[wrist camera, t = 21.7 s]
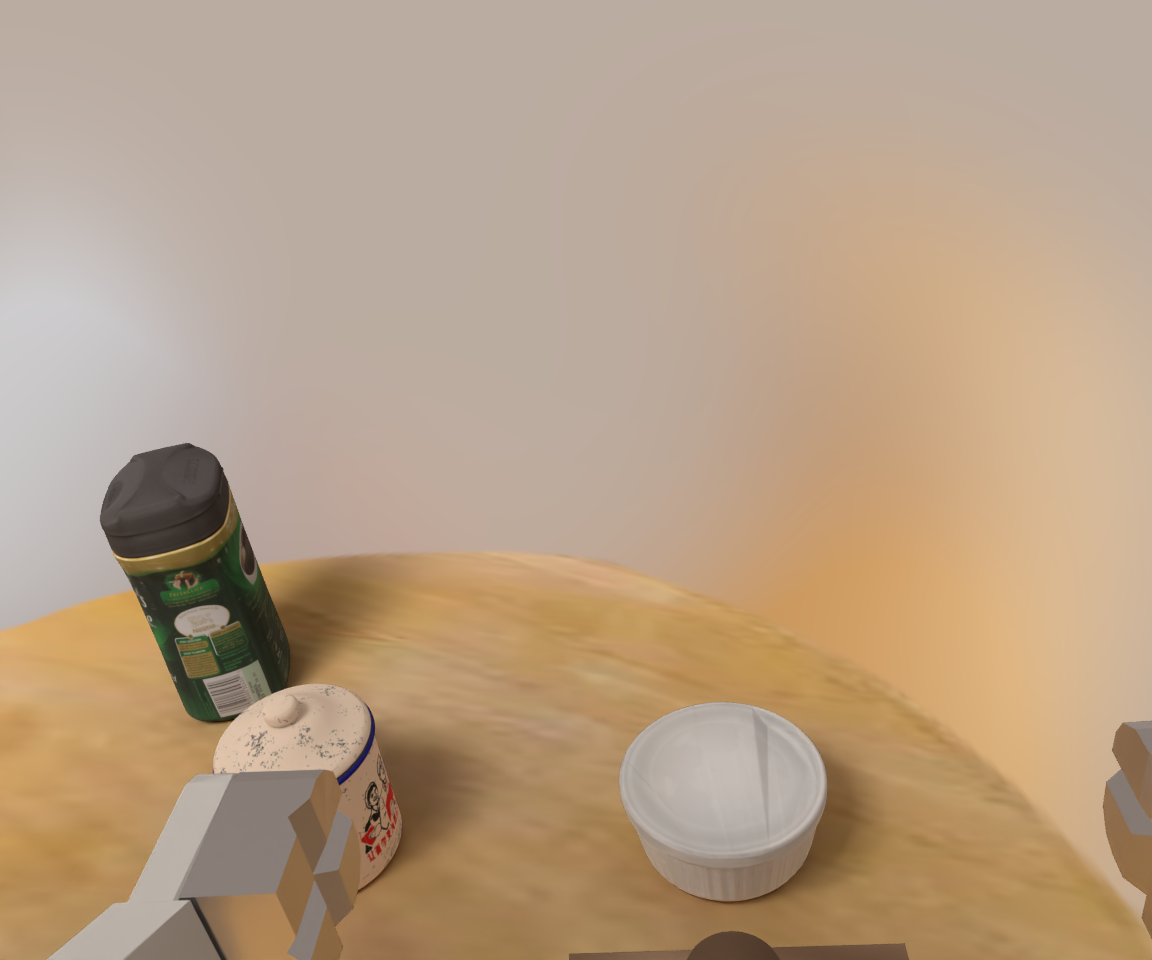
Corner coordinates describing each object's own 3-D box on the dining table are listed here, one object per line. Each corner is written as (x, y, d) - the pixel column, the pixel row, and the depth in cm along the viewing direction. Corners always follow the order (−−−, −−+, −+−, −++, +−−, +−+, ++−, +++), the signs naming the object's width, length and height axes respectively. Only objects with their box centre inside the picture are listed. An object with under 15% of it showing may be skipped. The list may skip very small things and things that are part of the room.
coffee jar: (191, 655, 80) (102, 450, 70) (292, 628, 81) (218, 423, 72) (180, 740, 72) (78, 521, 62) (293, 709, 73) (210, 490, 63)
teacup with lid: (412, 887, 59) (362, 741, 53) (252, 929, 58) (183, 785, 52) (401, 740, 69) (358, 604, 63) (266, 773, 68) (209, 638, 62)
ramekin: (870, 858, 56) (871, 792, 54) (700, 960, 52) (692, 894, 50) (748, 735, 65) (744, 673, 62) (595, 815, 61) (584, 753, 59)
